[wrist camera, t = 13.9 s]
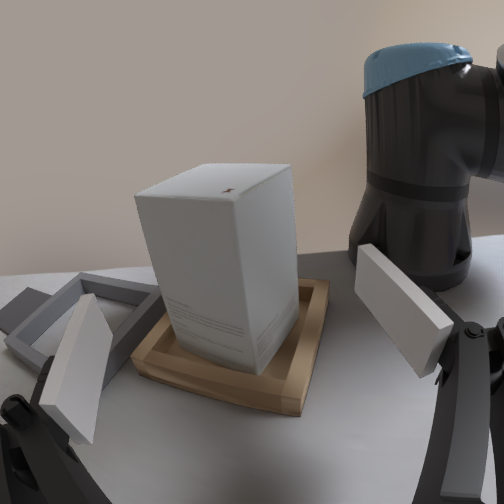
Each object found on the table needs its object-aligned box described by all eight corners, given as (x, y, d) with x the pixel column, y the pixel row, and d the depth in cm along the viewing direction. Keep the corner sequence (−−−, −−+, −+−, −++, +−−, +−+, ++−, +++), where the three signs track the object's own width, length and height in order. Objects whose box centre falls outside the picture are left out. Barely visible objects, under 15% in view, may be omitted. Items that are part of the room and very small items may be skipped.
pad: (28, 289, 34) (27, 287, 34) (57, 299, 31) (55, 296, 31) (-9, 321, 27) (-11, 319, 27) (13, 339, 25) (12, 336, 24)
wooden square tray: (206, 286, 31) (202, 268, 30) (328, 300, 27) (329, 280, 26) (139, 375, 21) (129, 356, 20) (300, 417, 17) (301, 398, 16)
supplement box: (301, 318, 25) (296, 162, 19) (257, 383, 19) (230, 199, 13) (228, 297, 28) (205, 161, 22) (176, 347, 23) (129, 192, 17)
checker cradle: (83, 285, 34) (78, 271, 33) (172, 304, 29) (167, 287, 28) (10, 352, 23) (1, 338, 22) (89, 406, 18) (77, 390, 17)
